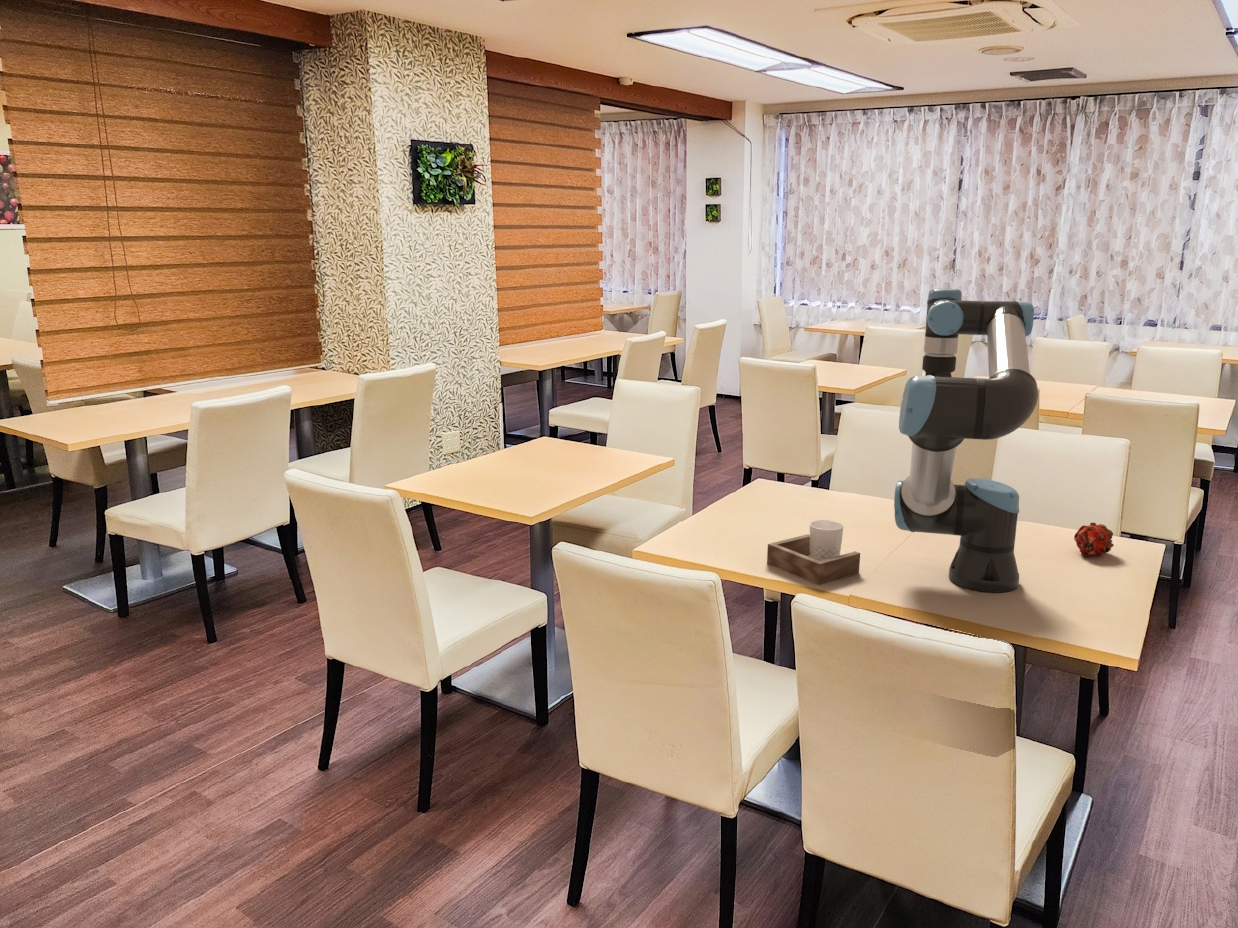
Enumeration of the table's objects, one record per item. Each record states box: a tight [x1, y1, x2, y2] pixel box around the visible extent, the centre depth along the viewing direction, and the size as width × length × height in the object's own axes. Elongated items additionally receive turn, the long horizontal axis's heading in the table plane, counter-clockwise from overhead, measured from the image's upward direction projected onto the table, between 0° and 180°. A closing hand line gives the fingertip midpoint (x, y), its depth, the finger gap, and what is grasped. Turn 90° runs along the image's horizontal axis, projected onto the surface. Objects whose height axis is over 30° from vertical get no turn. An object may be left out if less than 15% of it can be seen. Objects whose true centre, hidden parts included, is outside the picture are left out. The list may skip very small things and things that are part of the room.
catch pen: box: [766, 534, 861, 586], centre depth 222 cm, size 17×14×5 cm
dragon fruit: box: [1073, 522, 1115, 557], centre depth 232 cm, size 8×8×12 cm
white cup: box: [809, 519, 844, 561], centre depth 224 cm, size 8×8×10 cm
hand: (931, 451), depth 227 cm, fingers closed
